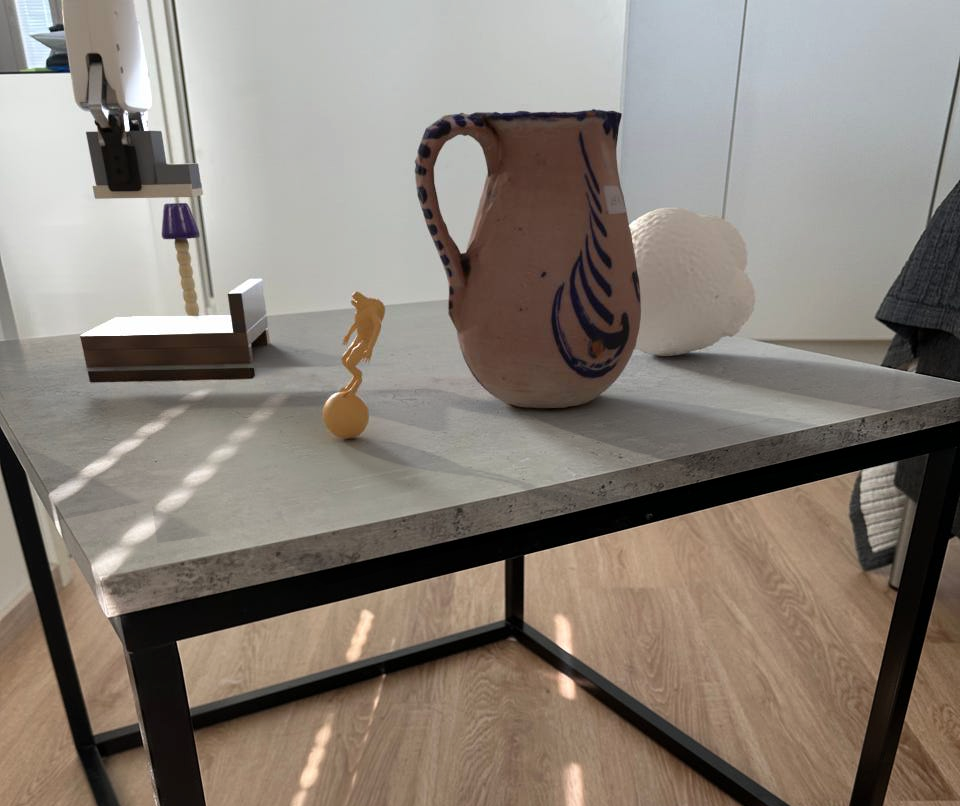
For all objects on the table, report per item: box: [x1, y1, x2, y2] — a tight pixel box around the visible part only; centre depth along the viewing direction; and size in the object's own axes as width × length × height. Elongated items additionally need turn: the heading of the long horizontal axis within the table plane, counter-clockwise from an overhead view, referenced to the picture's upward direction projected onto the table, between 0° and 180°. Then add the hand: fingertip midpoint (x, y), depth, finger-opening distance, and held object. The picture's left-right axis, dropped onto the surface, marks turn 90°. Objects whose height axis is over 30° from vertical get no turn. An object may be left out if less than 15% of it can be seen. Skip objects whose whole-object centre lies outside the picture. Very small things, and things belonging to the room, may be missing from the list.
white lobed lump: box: [629, 206, 770, 357], centre depth 107 cm, size 20×18×16 cm
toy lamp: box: [161, 202, 201, 316], centre depth 119 cm, size 5×5×17 cm
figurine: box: [322, 291, 386, 440], centre depth 78 cm, size 8×6×12 cm
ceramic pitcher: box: [414, 108, 641, 409], centre depth 85 cm, size 18×21×25 cm
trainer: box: [85, 130, 204, 200], centre depth 95 cm, size 10×4×6 cm, turn 91°
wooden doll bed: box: [79, 278, 271, 383], centre depth 105 cm, size 18×12×9 cm, turn 91°
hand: (133, 187), depth 96 cm, fingers closed on trainer, 4 cm apart
